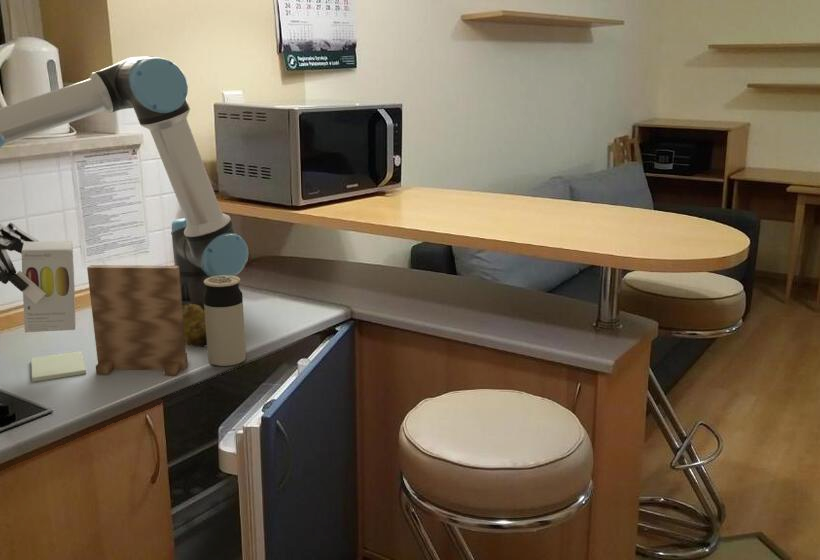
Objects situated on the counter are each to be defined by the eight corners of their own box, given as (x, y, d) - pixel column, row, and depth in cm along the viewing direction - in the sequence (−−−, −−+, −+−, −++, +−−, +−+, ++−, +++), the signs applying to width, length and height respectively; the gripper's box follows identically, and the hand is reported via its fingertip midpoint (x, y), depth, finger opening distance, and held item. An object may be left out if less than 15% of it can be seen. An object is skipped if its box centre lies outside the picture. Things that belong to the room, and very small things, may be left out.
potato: (176, 352, 174) (173, 318, 172) (176, 333, 186) (173, 301, 184) (215, 349, 176) (213, 315, 174) (212, 330, 188) (210, 298, 186)
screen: (191, 361, 169) (183, 262, 163) (179, 376, 161) (171, 272, 155) (108, 360, 169) (97, 261, 163) (92, 375, 162) (80, 271, 156)
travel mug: (215, 369, 164) (209, 287, 160) (203, 358, 171) (197, 278, 166) (251, 362, 169) (247, 281, 164) (238, 351, 175) (233, 272, 170)
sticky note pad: (82, 354, 173) (81, 350, 173) (86, 373, 162) (85, 369, 162) (31, 361, 169) (31, 358, 168) (32, 381, 158) (32, 377, 158)
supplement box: (24, 333, 156) (18, 250, 152) (26, 320, 164) (21, 240, 160) (76, 330, 160) (72, 248, 156) (76, 317, 168) (72, 239, 164)
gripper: (-9, 216, 169) (70, 286, 173) (-79, 241, 146) (14, 321, 149) (12, 192, 167) (91, 263, 171) (-55, 213, 144) (38, 294, 148)
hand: (55, 290), depth 160 cm, fingers closed on supplement box, 12 cm apart
